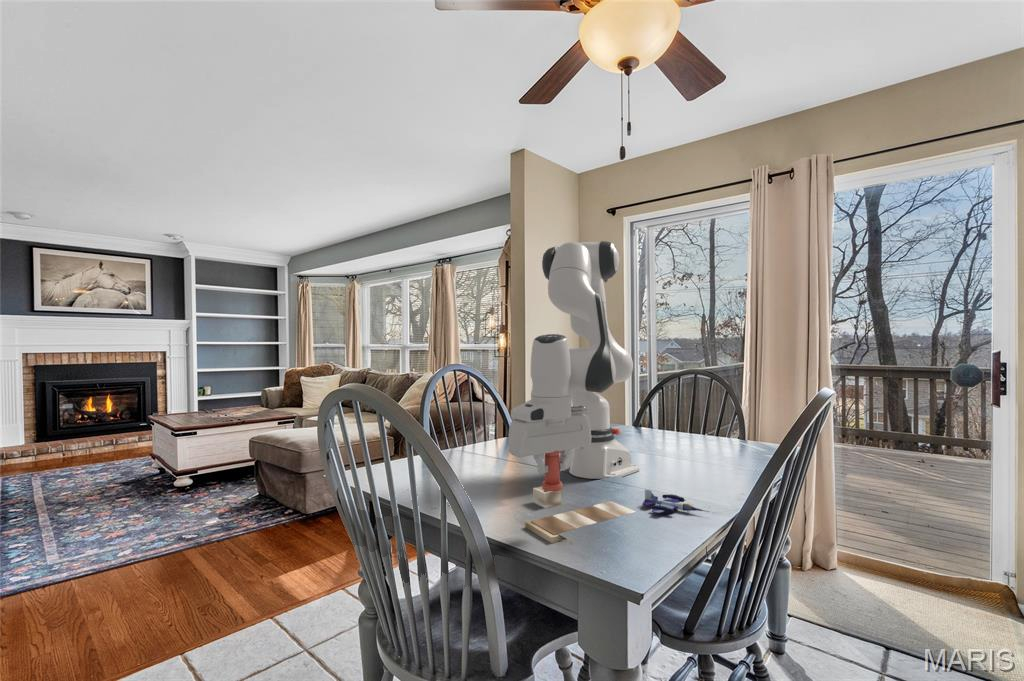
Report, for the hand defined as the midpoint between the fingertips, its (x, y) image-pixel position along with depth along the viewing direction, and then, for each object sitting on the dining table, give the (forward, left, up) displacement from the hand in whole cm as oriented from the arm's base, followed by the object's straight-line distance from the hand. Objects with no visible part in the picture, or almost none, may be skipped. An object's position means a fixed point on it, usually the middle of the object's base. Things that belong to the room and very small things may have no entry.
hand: (551, 471), depth 106 cm
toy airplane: (-29, +8, -13) cm, 33 cm away
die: (-7, -12, -13) cm, 19 cm away
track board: (-9, 0, -13) cm, 16 cm away
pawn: (0, 0, -4) cm, 4 cm away
